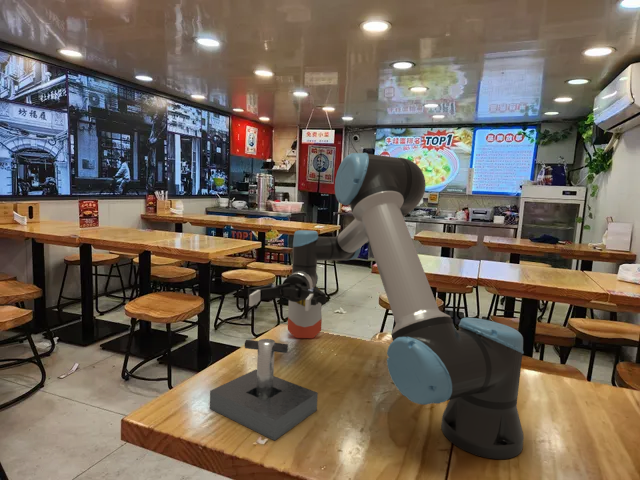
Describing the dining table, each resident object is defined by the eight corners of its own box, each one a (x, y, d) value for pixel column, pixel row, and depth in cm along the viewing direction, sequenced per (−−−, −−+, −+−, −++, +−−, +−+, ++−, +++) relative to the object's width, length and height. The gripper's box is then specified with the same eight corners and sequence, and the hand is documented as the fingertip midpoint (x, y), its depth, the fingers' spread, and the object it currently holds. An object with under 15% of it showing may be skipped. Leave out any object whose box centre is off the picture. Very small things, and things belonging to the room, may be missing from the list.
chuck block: (316, 410, 86) (317, 392, 86) (274, 440, 74) (275, 420, 74) (255, 385, 96) (255, 369, 96) (209, 408, 84) (210, 390, 84)
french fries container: (320, 338, 129) (323, 283, 129) (287, 338, 128) (289, 282, 128) (319, 335, 134) (321, 281, 134) (287, 334, 133) (289, 280, 133)
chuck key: (286, 407, 86) (289, 341, 85) (282, 416, 83) (285, 346, 81) (246, 402, 88) (248, 336, 86) (240, 410, 84) (243, 342, 83)
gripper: (339, 302, 113) (330, 323, 92) (255, 296, 116) (227, 314, 95) (341, 276, 112) (331, 290, 91) (255, 270, 116) (228, 283, 95)
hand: (278, 303), depth 93 cm, fingers open, 13 cm apart
